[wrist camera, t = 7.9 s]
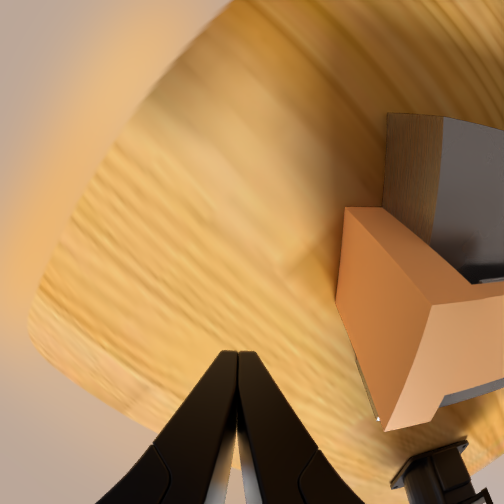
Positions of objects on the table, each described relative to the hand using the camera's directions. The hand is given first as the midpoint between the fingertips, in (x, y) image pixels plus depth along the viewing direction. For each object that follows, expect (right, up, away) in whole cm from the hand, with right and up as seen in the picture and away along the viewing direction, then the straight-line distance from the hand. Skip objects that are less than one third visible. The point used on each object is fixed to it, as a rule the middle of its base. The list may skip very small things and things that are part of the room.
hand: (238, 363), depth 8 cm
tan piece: (+7, +3, +5) cm, 9 cm away
